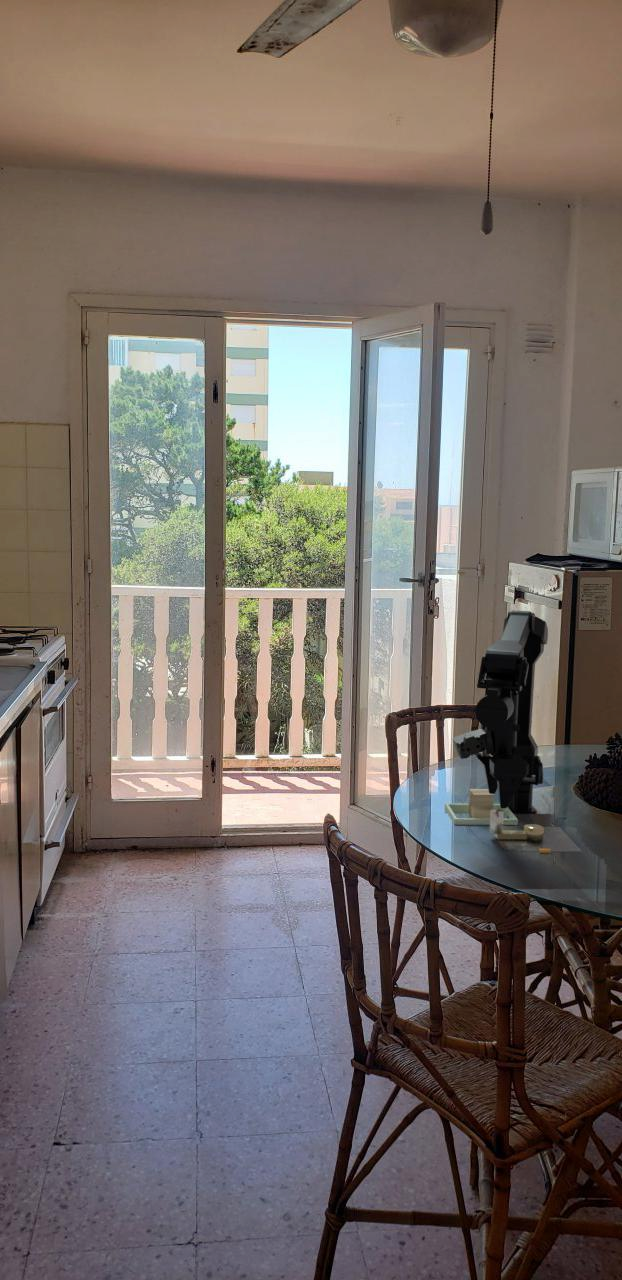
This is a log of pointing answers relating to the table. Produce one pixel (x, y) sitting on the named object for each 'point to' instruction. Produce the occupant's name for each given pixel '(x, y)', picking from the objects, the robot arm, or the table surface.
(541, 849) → the crank base
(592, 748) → the table surface
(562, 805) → the table surface
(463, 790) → the table surface
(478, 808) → the block
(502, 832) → the crank
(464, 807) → the tray
